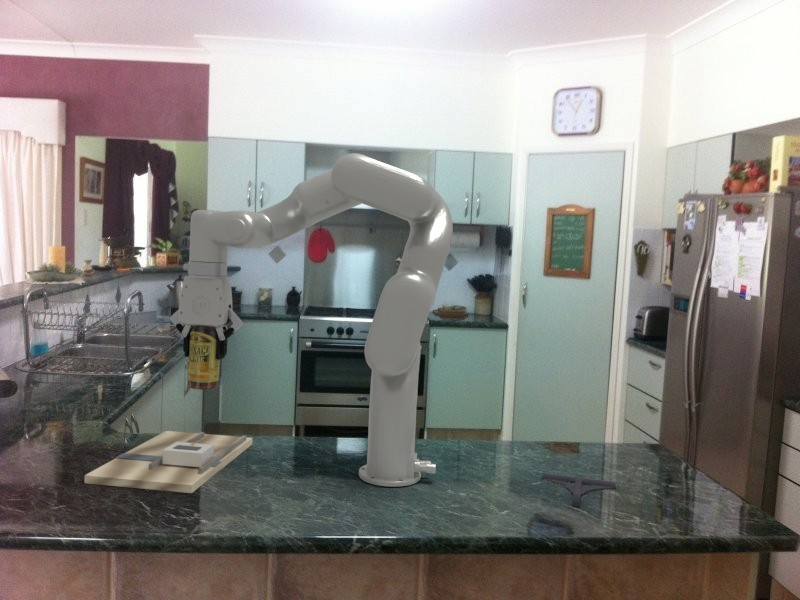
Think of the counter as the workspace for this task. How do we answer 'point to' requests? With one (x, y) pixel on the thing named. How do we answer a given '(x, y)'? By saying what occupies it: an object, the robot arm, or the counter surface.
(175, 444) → the white rectangular box
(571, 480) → the bracket
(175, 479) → the wooden cutting board
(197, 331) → the sauce bottle
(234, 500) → the counter surface
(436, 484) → the counter surface
